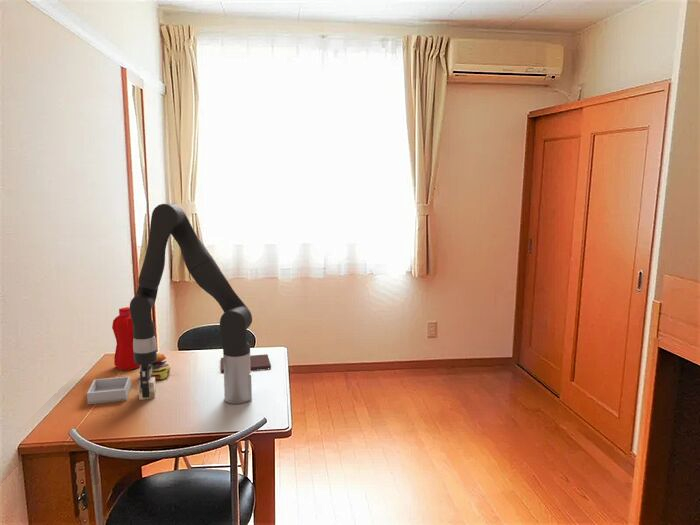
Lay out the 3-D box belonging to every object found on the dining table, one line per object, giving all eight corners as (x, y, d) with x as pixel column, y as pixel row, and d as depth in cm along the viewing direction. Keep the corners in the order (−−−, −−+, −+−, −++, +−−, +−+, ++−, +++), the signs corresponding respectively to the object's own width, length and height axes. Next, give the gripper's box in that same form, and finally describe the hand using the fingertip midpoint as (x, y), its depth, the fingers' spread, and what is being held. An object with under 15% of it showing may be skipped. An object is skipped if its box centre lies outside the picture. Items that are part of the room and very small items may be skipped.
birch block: (155, 392, 186) (154, 377, 185) (154, 398, 181) (153, 382, 180) (141, 394, 185) (140, 378, 184) (139, 399, 180) (138, 383, 179)
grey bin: (130, 386, 191) (130, 376, 190) (126, 400, 179) (125, 389, 178) (95, 389, 188) (94, 379, 187) (87, 404, 176) (86, 393, 175)
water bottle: (132, 360, 217) (128, 302, 213) (144, 366, 210) (141, 307, 206) (110, 366, 210) (106, 307, 206) (122, 372, 203) (118, 312, 199)
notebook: (221, 361, 219) (220, 356, 219) (267, 357, 224) (267, 353, 224) (221, 374, 205) (221, 369, 204) (271, 370, 210) (270, 365, 209)
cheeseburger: (153, 383, 194) (148, 357, 193) (138, 382, 200) (133, 358, 200) (176, 375, 202) (171, 350, 201) (161, 374, 208) (156, 350, 208)
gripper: (154, 354, 174) (156, 399, 177) (158, 341, 188) (160, 383, 191) (130, 356, 172) (133, 401, 175) (136, 343, 186) (138, 385, 189)
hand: (147, 392), depth 183 cm, fingers open, 8 cm apart
